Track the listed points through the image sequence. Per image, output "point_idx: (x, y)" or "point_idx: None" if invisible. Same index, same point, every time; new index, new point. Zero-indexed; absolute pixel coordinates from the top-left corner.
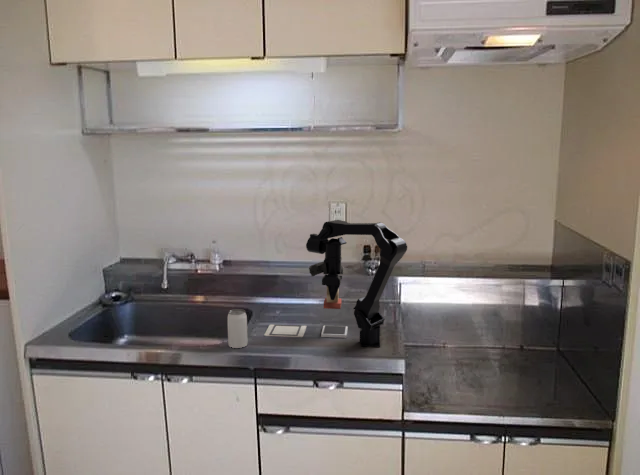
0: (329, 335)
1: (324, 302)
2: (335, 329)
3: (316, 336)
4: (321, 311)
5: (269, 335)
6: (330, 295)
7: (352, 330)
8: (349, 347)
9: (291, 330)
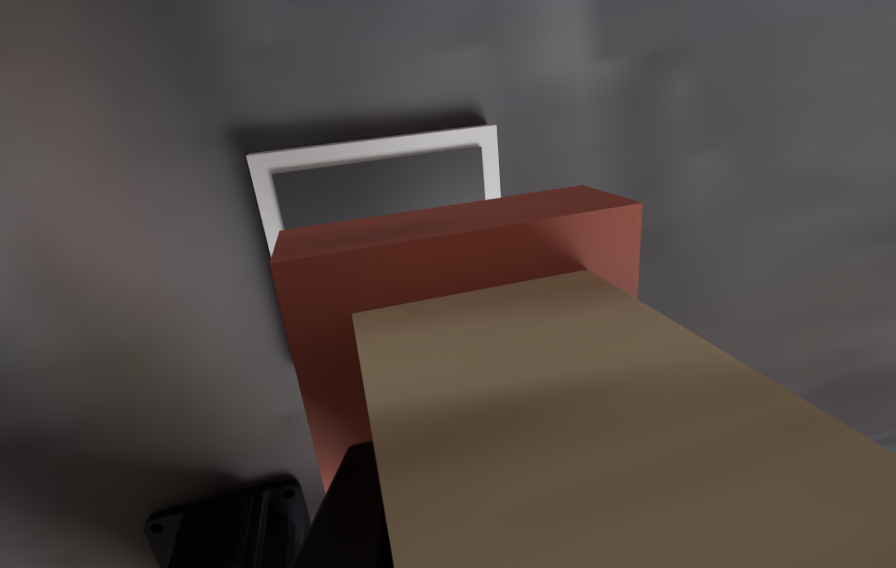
0: (268, 236)
1: (320, 272)
2: None
3: (248, 101)
4: (886, 13)
5: None
6: (306, 551)
7: None
8: (90, 446)
9: None
